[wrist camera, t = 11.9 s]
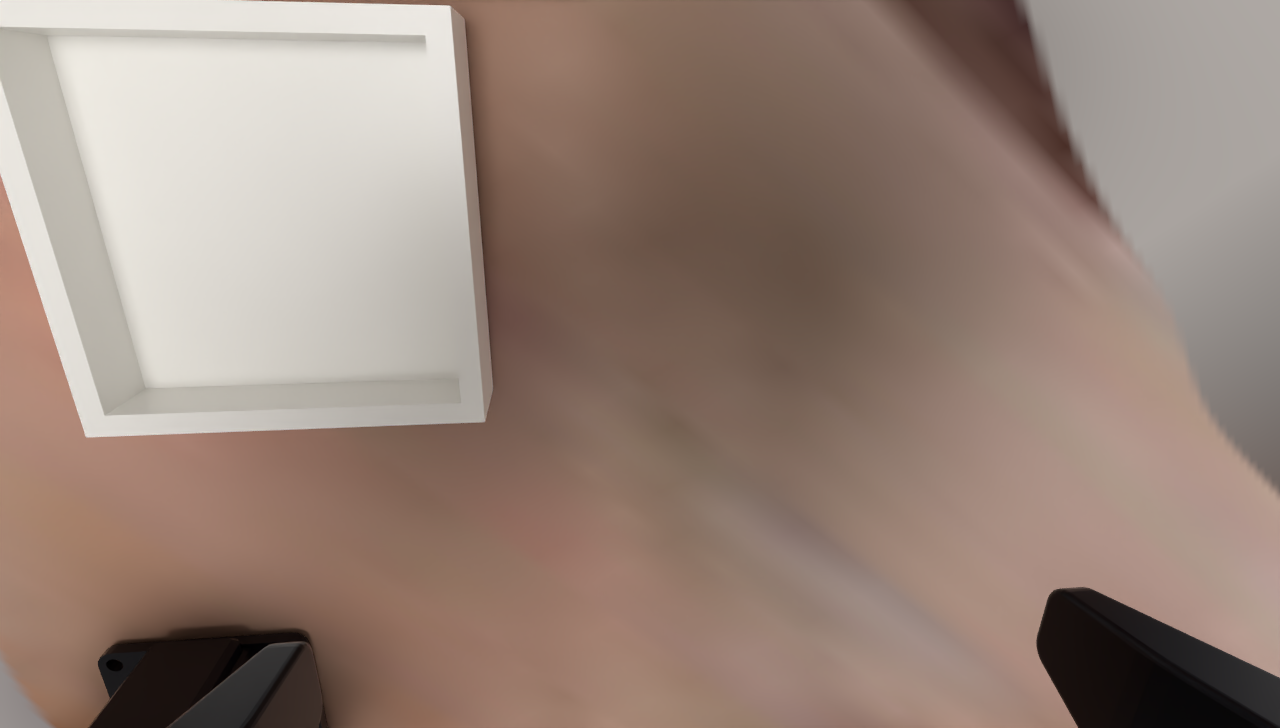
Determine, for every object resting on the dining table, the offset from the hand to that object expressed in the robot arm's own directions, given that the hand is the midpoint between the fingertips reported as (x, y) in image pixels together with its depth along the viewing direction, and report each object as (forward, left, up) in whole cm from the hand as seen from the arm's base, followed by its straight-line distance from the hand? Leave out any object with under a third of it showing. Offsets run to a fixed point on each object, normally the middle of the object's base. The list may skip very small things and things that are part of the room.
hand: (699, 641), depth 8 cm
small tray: (+3, +9, -13) cm, 16 cm away
